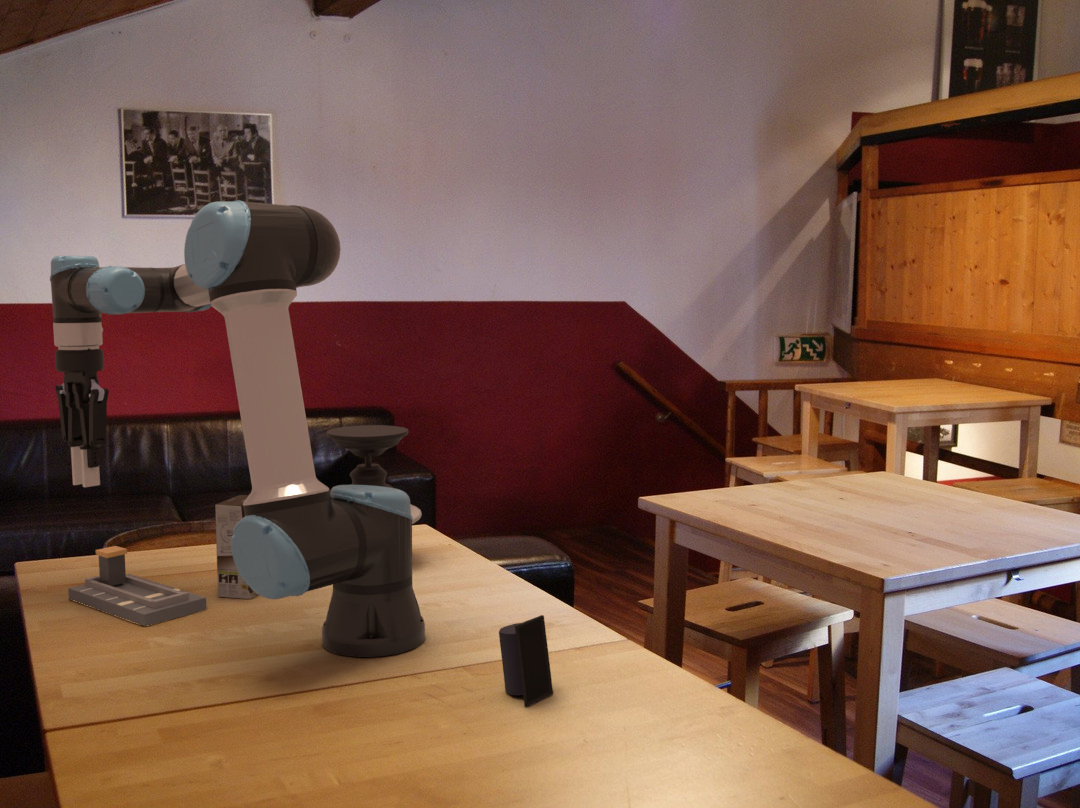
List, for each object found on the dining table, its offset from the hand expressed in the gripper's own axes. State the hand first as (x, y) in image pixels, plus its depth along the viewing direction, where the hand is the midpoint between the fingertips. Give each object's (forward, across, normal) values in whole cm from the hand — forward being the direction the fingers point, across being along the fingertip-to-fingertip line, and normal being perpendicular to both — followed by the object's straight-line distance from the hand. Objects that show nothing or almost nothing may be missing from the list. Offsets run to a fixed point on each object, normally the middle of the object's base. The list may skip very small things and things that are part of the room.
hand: (86, 484), depth 179 cm
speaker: (+19, -88, -10) cm, 91 cm away
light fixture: (+19, -26, -41) cm, 52 cm away
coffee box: (+19, -22, -16) cm, 33 cm away
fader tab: (+16, -7, 0) cm, 18 cm away
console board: (+19, -14, 0) cm, 23 cm away
